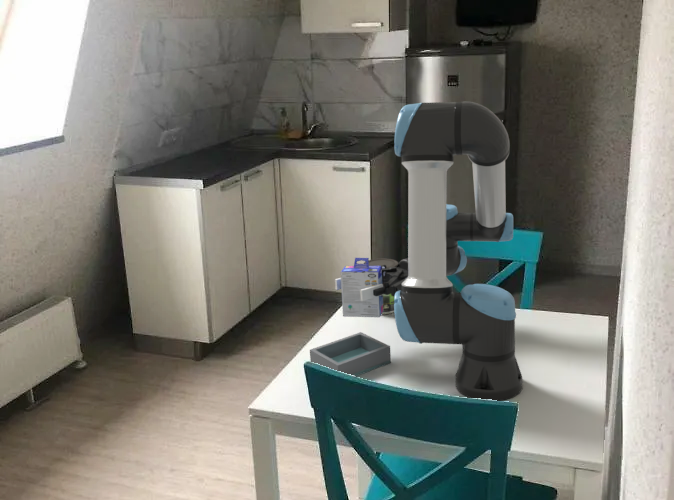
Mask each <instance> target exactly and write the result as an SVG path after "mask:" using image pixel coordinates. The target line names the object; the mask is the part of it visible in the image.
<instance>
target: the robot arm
mask: <svg viewBox="0 0 674 500" xmlns="http://www.w3.org/2000/svg"><path fill="white" fill-rule="evenodd" d="M510 144H511V143H510V138H509V134H508V131H507V129H506V127H505V125H504V124H503V122H502V121H501V119H500V118H499V116H497V115H496V114H495V113H494V112H493V111H491V110H490V109H489V108H488V107H486V106H484V105H482V104H481V103H477V102H473V101H458V102H457V101H451V102H450V101H448V102H446V101H445V102H443V101H442V102H441V101H440V102H419V103H409V104H406V105H403V106H402V108H401V109H400V110H399V113H398V116H397V118H396V123H395V131H394V147H393V148H394V154H395V155H396V156H397V157H399V158H400V157H401V165H402V166H403V167H404V168H405V169H406V170H407V173H408V175H407V176H408V186H407V187H408V190H407V191H408V193H407V194H408V195H407V196H408V203H407V204H408V212H407V213H408V215H407V216H408V217H407V218H408V220H407V222H408V224H407V227H408V229H407V232H408V233H407V236H408V237H407V243H408V244H407V245H408V246H407V249H408V250H407V251H408V252H407V253H408V254H407V256H408V257H407V258H403V259H401V260H400V261H398V265H397V267H390V268H387V266H386V265H382V266H381V267H382V282H384V287H383V284H378V285H375V286H372V287H368V288H365V289H361V290H360V297H361V301H364V300H368V299H371V298H374V297H378V296H381V295H384V294H385V295H389V294H391V296H394V319H395V320H394V321H395V326H396V329H397V332H398V334H399V337H400V338H401V339H402V340H403V341H404V342H408V343H418V344H440V345H461V346H462V354H461V357H460V361H459V364H458V367H457V370H456V372H455V376H454V383H455V384H454V385H455V388H456V389H457V391H458V392H459V393H460V394H462V395H463V396H466V397H468V398H470V397H471V398H470V399H473V398H481V399H492V400H498V401H504V400H508V399H511V398H514V397H516V396H517V395H519V394H520V393H521V392H522V390H523V376H522V375H523V374H522V372H521V370H520V366H519V363H518V361H517V358H516V357H517V356H516V318H517V312H516V304H515V303H516V302H515V297H513V295H512V294H511V293H510V292H509V291H507V290H505V289H504V288H502V287H499V286H496V285H492V284H488V283H487V284H485V283H474V284H467V285H464V286H463V288H462V289H461V291H460V292H453V291H454V290H453V287H454V286H453V285H454V284H453V283H452V281H450V280H449V279H448V276H453V275H456V274H457V273H460V272H462V271H463V270H464V269H465V268H466V266H467V262H468V259H467V258H468V257H467V256H466V252H465V250H464V248H463V247H462V246H460V245H459V244H458V242H496V243H500V242H510V241H512V240H513V238H514V215H513V213H511V212H507V211H506V209H507V208H506V205H507V203H506V197H507V196H506V195H507V193H506V160H507V159H508V157H509V155H510V146H511V145H510ZM459 155H461V156H462V155H467V157H468V160H469V161H470V162H471V163H472V164H471V165H472V177H473V192H474V193H473V194H474V204H475V205H474V206H475V212H459V211H458V207H457V206H456V205H454V204H448V203H447V198H448V197H447V194H448V193H447V190H448V189H447V188H448V187H447V182H448V181H447V179H448V178H447V176H448V174H447V173H448V172H447V171H448V170H449V169H450V168H451V166H453V165H454V156H459ZM384 276H385V279H384ZM334 284H335V285H334V286H335V287H334V288H335V290H336V291H338V290H342V289H341V277H339V278H335V279H334Z"/></svg>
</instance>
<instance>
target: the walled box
mask: <svg viewBox="0 0 674 500" xmlns="http://www.w3.org/2000/svg"><path fill="white" fill-rule="evenodd" d="M309 355H310V356H309V358H310V359H309V361H310V363H311V362H314V363H318V364H320V365H323V366H326V367H329V368H331V369H334V370H337V371H341V372H344V373H347V374H351V375H355V377H357V376H360V375H363V374H365V373H367V372H370V371H373V370H375V369H378V368H381V367H383V366H386V365H388V364H391V363H392V361H391V360H392V359H391V345H389V344H386V343H385V342H383V341H380V340H378V339H376V338H374V337H372V336H370V335H368V334H366V333H364V332H361V331H360V332H357V333H355V334H351V335H349V336H345V337H343V338H339V339H338V340H334V341H331V342H328V343H326V344H322V345H320V346H317V347H314V348H311V349H309Z"/></svg>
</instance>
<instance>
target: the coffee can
mask: <svg viewBox="0 0 674 500" xmlns="http://www.w3.org/2000/svg"><path fill="white" fill-rule="evenodd" d="M398 263H399V261H397V260H396V259H392V258H385V257H384V258H373V259H369V266H382V265H386V266H387V268H390V267H397V265H398ZM363 264H366V262H365V261H363ZM384 279H385V276H384ZM382 284H383V287H384V282H382ZM383 309H384V311H383V313H382V314H381V316H383V315H390V314H393V313H394V296H391V294H389V295H385V294H384V295H383ZM394 314H395V313H394Z"/></svg>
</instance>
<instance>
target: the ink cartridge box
mask: <svg viewBox="0 0 674 500" xmlns="http://www.w3.org/2000/svg"><path fill="white" fill-rule="evenodd" d="M369 260H370V258H369V257H354V263H353V265H350V266H349V265H345V266H344V267H343V268H342V270H340V278H341V289H340V290H341V301H342V302H341V304H342V306H341V307H342V317H344V318H346V317H350V318H352V317H353V318H380V317H381V316H382V315H381V314H382V313H383V311H384V309H383V295H381V296H378V297H374V298H371V299H368V300H364V301H361V297H360V290H361V289H365V288H368V287H372V286H375V285H378V284H382V267H381V266H369ZM359 261H360V262H362V261H363V262H366V264H364V263H358V262H359Z"/></svg>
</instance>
